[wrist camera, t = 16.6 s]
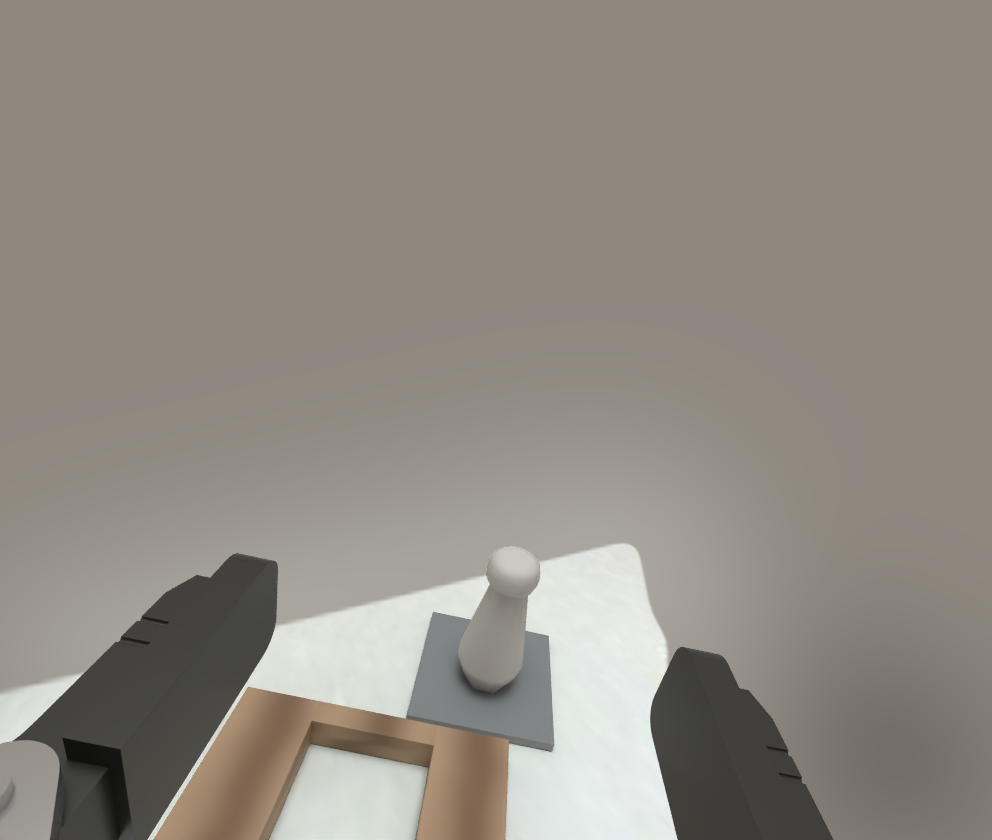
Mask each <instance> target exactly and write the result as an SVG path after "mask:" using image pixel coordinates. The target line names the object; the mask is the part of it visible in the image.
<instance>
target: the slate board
mask: <svg viewBox="0 0 992 840" xmlns="http://www.w3.org/2000/svg"><path fill="white" fill-rule="evenodd" d="M470 621H471V620H470V619H465V618H460V617H455V616H450V615H445V614H441V613H436V612H433V614H432V618H431V622H430V626H429V630H428V634H427V638H426V642H425V646H424V650H423V654H422V658H421V662H420V666H419V670H418V674H417V678H416V682H415V686H414V690H413V693H412V697H411V701H410V705H409V709H408V713H407V718H406V719H409V720H414V721H419V722H424V723H429V724H434V725H438V726H443V727H448V728H453V729H458V730H463V731H468V732H473V733H478V734H483V735H488V736H493V737H498V738H503V739H507V740H509V743H513V744H518V745H523V746H528V747H533V748H538V749H543V750H548V751H552V749H553V747H554V732H553V712H552V692H551V672H550V652H549V636H547V635H542V634H537V633H533V632H528V631H525V639H524V652H523V665H522V668H521V670H520V671H519V673H518V674H517V676H516V677H515V678H514V680H513V681H511V682H509V683H508V684H506V685H505V686H503V687H501V688H500V689H499V690H498V691H496V692H495V693H494V694H493V693H489V692H484V691H480V690H476V689H473V688H472V686H471V684H470V683H469V681H468V679H467V678H466V676H465V674H464V673H463V670H462V667H461V664H460V661H459V657H458V650H459V645H460V641H461V638H462V636H463V635H464V633H465V631H466V629H467V627H468V625H469V623H470Z"/></svg>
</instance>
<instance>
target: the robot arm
mask: <svg viewBox="0 0 992 840" xmlns="http://www.w3.org/2000/svg"><path fill="white" fill-rule="evenodd" d="M277 580H278V566H277V563H276V562H275V561H272V560H267V559H262V558H257V557H253V556H247V555H243V554H238V553H237V554H233V555H232V556H231V557H229V558H228V559H227V560H226V561H225V562H224V563H223V565H222V566H221V567H220V568H219V569H218V570H217V571H216V572H215V573H214V574H213V575H212V577H211V578H208V577H203V576H199V575H196V576H194V577H193V578H191V579H189V580H187V581H186V582H184V583H182V584H180V585H178V586H177V587H175V588H173V589H171V590H169V591H168V592H166V593H165V594H164V595H163V596H162V597H161V598H160V599H159V600H158V601H157V602H156V603H155V604H154V605H153V606H152V607H151V608H150V609H149V610H148V611H147V612H146V613H145V614H144V615H143V616H142V618H141V620H140V621H137V622H136V623H135V624H134V625H132V627H130V628H129V629H128V630H127V631H126V633H124V634H123V635H122V636H121V640H120V641H119V642H115V643H114V644H113V645H112V646H111V647H110V648H109V649H108V650H107V651H106V652H105V653H104V654H103V655H102V656H101V657H100V658H99V659H98V660H97V661H96V662H95V663H94V664H93V665H92V666H91V667H90V668H89V669H88V670H87V671H86V672H85V673H84V674H83V675H82V676H81V677H80V678H79V679H78V680H77V681H76V682H75V683H74V684H73V685H72V686H71V687H70V688H69V689H68V690H67V691H66V692H65V693H64V694H63V695H62V696H61V697H60V698H59V699H58V700H57V701H56V702H55V703H54V704H53V705H52V706H51V707H50V708H49V709H47V710H46V711H45V712H44V713H43V714H42V715H41V716H40V717H39V718H38V719H37V720H36V721H35V722H34V723H33V724H32V725H31V726H30V727H29V728H28V729H27V730H26V731H25V732H24V733H22V734H21V735H20V736H19V737H17V738H16V739H15V740H13V741H12V742H6V743H2V744H0V840H147V839H148V838H149V836H150V834H151V833H152V831H153V830H154V828H155V826H156V825H157V823H158V822H159V820H160V818H161V817H162V815H163V814H164V812H165V811H166V809H167V807H168V806H169V804H170V803H171V801H172V799H173V798H174V796H175V795H176V793H177V791H178V790H179V788H180V787H181V785H182V784H183V782H184V780H185V779H186V777H187V776H188V774H189V772H190V771H191V769H192V768H193V766H194V764H195V763H196V761H197V760H198V758H199V757H200V755H201V753H202V752H203V750H204V749H205V747H206V745H207V744H208V742H209V741H210V739H211V737H212V736H213V734H214V733H215V731H216V730H217V728H218V726H219V725H220V723H221V722H222V720H223V718H224V717H225V715H226V714H227V712H228V710H229V709H230V707H231V706H232V704H233V703H234V701H235V699H236V698H237V696H238V695H239V693H240V691H241V690H242V688H243V687H244V685H245V683H246V682H247V680H248V679H249V677H250V676H251V674H252V672H253V671H254V669H255V668H256V666H257V664H258V663H259V661H260V660H261V658H262V656H263V655H264V653H265V651H266V649H267V647H268V645H269V643H270V641H271V638H272V635H273V632H274V628H275V623H276V609H277ZM650 723H651V732H652V737H653V741H654V745H655V749H656V753H657V758H658V762H659V766H660V770H661V774H662V778H663V782H664V786H665V790H666V794H667V798H668V802H669V806H670V810H671V814H672V818H673V822H674V826H675V831H676V835H677V839H678V840H833V838H832V836H831V834H830V832H829V830H828V828H827V826H826V824H825V822H824V820H823V818H822V816H821V814H820V812H819V810H818V808H817V806H816V804H815V802H814V800H813V799H812V796H811V794H810V792H809V791H808V788H807V786H806V784H803V783H802V780H801V778H802V776H801V775H800V773H799V771H798V769H797V767H796V765H795V763H794V761H793V759H792V757H790V756H789V755H788V749H787V747H786V745H785V743H784V741H783V739H782V737H781V735H780V733H779V731H778V729H777V727H776V725H775V723H774V721H773V719H772V718H771V717H770V715H769V714H768V713H767V712H766V711H765V709H764V708H763V707H762V706H761V705H760V703H759V702H758V701H757V700H756V699H755V698H754V696H753V695H752V694H751V693H750V692H749V691H748V690H744V689H739V687H738V685H737V682H736V680H735V678H734V676H733V674H732V672H731V670H730V667H729V665H728V663H727V662H726V660H725V659H724V658H723V657H722V656H721V655H718V654H714V653H709V652H704V651H699V650H694V649H690V648H685V647H680V648H679V649H677V651H676V652H675V654H674V656H673V658H672V660H671V662H670V664H669V666H668V669H667V671H666V673H665V675H664V677H663V679H662V681H661V683H660V686H659V688H658V690H657V692H656V694H655V696H654V699H653V702H652V706H651V715H650Z"/></svg>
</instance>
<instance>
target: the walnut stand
mask: <svg viewBox="0 0 992 840" xmlns="http://www.w3.org/2000/svg"><path fill="white" fill-rule="evenodd" d="M310 743H311V744H316V745H321V746H326V747H331V748H336V749H341V750H346V751H351V752H356V753H361V754H366V755H371V756H376V757H381V758H386V759H391V760H396V761H401V762H405V763H410V764H415V765H420V766H425V767H429V770H428V775H427V780H426V786H425V791H424V796H423V802H422V807H421V813H420V818H419V823H418V829H417V834H416V839H415V840H505V831H506V805H507V779H508V753H509V740H507V739H503V738H498V737H493V736H488V735H483V734H478V733H473V732H468V731H463V730H458V729H453V728H448V727H443V726H438V725H434V724H429V723H424V722H419V721H414V720H409V719H404V718H399V717H394V716H389V715H384V714H379V713H374V712H369V711H365V710H360V709H355V708H350V707H345V706H340V705H335V704H330V703H325V702H320V701H315V700H310V699H305V698H300V697H296V696H291V695H286V694H281V693H276V692H271V691H266V690H261V689H256V688H251V687H248V688H247V690H246V691H245V693H244V694H243V696H242V698H241V699H240V701H239V702H238V704H237V706H236V707H235V709H234V711H233V712H232V714H231V715H230V717H229V719H228V720H227V722H226V723H225V725H224V727H223V728H222V730H221V731H220V733H219V735H218V736H217V738H216V740H215V741H214V743H213V744H212V746H211V748H210V749H209V751H208V752H207V754H206V756H205V757H204V759H203V761H202V762H201V764H200V765H199V767H198V769H197V770H196V772H195V773H194V775H193V777H192V778H191V780H190V782H189V783H188V785H187V786H186V788H185V790H184V791H183V793H182V794H181V796H180V798H179V799H178V801H177V803H176V804H175V806H174V807H173V809H172V811H171V812H170V814H169V815H168V817H167V819H166V820H165V822H164V824H163V825H162V827H161V828H160V830H159V832H158V833H157V835H156V836H155V838H154V840H269V838H270V835H271V833H272V831H273V828H274V826H275V824H276V821H277V819H278V817H279V814H280V812H281V810H282V807H283V805H284V803H285V800H286V798H287V796H288V793H289V791H290V789H291V786H292V784H293V782H294V779H295V777H296V775H297V772H298V770H299V768H300V765H301V763H302V761H303V758H304V756H305V754H306V751H307V749H308V747H309V744H310Z"/></svg>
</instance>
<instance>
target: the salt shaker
mask: <svg viewBox="0 0 992 840" xmlns="http://www.w3.org/2000/svg"><path fill="white" fill-rule="evenodd" d="M486 575H487V579H488V581H489V583H490V586H489V587H488V589H487V591H486V593H485V595H484V597H483V599H482V601H481V602H480V604H479V606H478V608H477V610H476V612H475V614H474V616H473V618H472V619H471V621H470V623H469V625H468V627H467V629H466V631H465V633H464V635H463V636H462V638H461V641H460V645H459V650H458V657H459V661H460V664H461V667H462V670H463V673H464V674H465V676H466V678H467V679H468V681H469V683H470V684H471V686H472V688H473V689H476V690H480V691H484V692H489V693H493V694H494V693H495V692H496V691H498V690H499V689H500V688H501V687H503V686H505V685H506V684H508V683H509V682H511V681H513V680H514V678H515V677H516V676H517V674H518V673H519V671H520V670H521V668H522V665H523V652H524V639H525V626H526V613H527V601H528V595H530V594H531V592H532V591H533V590H534V589H535V588H536V586H537V585H538V582H539V578H540V565H539V563H538V561H537V560H536V558H535V557H534V556H533V555H532V554H531V553H529V552H528V551H527V550H525V549H522V548H519V547H514V546H507V547H503V548H500V549H497V550H496V551H495V552H494V553H492V555H491V557H490V559H489V562H488V567H487V574H486Z"/></svg>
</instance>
